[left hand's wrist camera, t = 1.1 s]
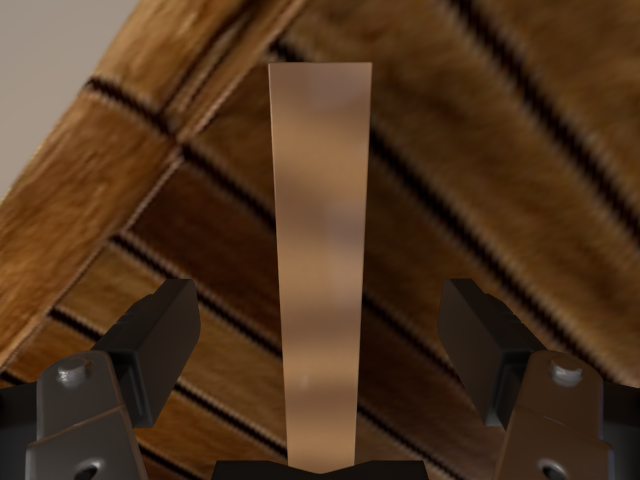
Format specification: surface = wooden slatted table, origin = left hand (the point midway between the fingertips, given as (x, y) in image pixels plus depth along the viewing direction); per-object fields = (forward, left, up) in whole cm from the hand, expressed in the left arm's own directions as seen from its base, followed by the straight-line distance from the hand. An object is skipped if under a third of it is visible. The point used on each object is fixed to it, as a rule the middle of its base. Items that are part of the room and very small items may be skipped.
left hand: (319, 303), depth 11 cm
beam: (+12, +13, -13) cm, 22 cm away
